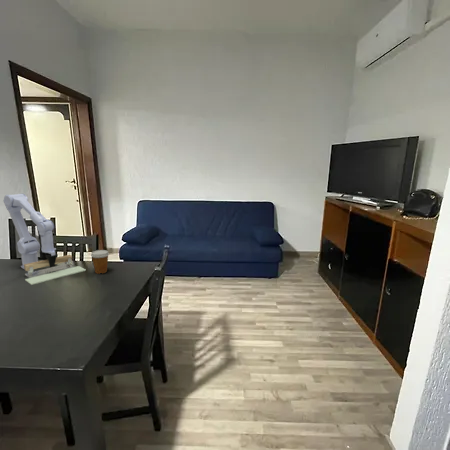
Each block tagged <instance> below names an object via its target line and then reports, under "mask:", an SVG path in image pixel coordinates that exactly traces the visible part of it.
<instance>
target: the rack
mask: <svg viewBox="0 0 450 450" xmlns="http://www.w3.org/2000/svg"><path fill="white" fill-rule="evenodd" d="M71 263H72V261H71V258H68V262H65V264H64V263H63V264H61V265H55V266H53V267H48V268H44V269H43V268H41V269H38V270H35V271H34V269H33V267H29V271H27V272H26V273H24V275H25V276H26V277H27V278H33V277H37V276H41V275H45V274H49V273H53V272H57V271H61V270H65V269H69V268H73V267H74V265H72V264H71Z"/></svg>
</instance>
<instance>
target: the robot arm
mask: <svg viewBox="0 0 450 450" xmlns="http://www.w3.org/2000/svg"><path fill="white" fill-rule="evenodd" d="M2 202H3V203H4V206H5V209H6V210H7V211H8V213H9V216H10V217H11V220H12V223H13V225H14V227H15V230H16V232H17V234H18V235H17V236H18V237H19V239H18V241H17V243H16V245H17V251H18V253H19V254H20V255H21V258H20V259H21V264H22V265H20V267H21V268H22V269H23V270H24V264H28V263H33V262H38V261H39V258H38V252H39V250H40V249H41V251H40V252H39V254H40V256H41V258H42V261H43V260H47V259H48V261H49V265H50V266H49V268H51V267H55V266H56V264H55V261H56V258H57V257H59V254H57V253H56V250H57V248H56V247H54V236H53V230H54V229H55V224H54V223H53V221H52V220H50V219H47V218H46V216H44V215H43V214H42V213H41V212H40V211H36V210H35V208H34V207H33V206H32V204H31V203H30V202H29V197H28V196H27V195H26V194H25V193H16V194H15V193H14V194H13V193H12V194H5V195H4V197H3V201H2ZM22 210H24V211H25V212H26V213H27V214H28V215H30V216H29V219H30V220H31V221H32V222H33V223H34V224H35V225H36V228H37V231H38V233H39V236H40V242H39V241H38V240H37V238H36V237H34V236H32V235H31V234H30V232H29V229H28V226H27V224H26V221H25V219H24V217H23V214H22V212H21V211H22ZM40 243H41V244H40Z"/></svg>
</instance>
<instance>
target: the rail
mask: <svg viewBox="0 0 450 450" xmlns="http://www.w3.org/2000/svg"><path fill="white" fill-rule="evenodd" d="M68 258H71V262H72V261H73V256H72V255H71V254H66V255H63V256H57V258H56V261H55V265H59V264H64V263H66V262H68ZM29 267H33V270H37V269H40V268H41V269H43V268H45V267H50V265H49V261H48V259H47V260H43V259H42V260H38V262H33V263H28V264H24V269H23V270H24V271H25V272H28V271H29Z"/></svg>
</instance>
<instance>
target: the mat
mask: <svg viewBox="0 0 450 450" xmlns="http://www.w3.org/2000/svg"><path fill="white" fill-rule="evenodd" d="M86 271H87V270H86V268H83V267H82V266H80V265H77V266H73V268H69V269H65V270H61V271H57V272H53V273H49V274H45V275H41V276H37V277H33V278H29V277H27V278H25V279H24V280H25V282H27V283H28V284H30V285H31V286H32V285H38V284H40V283H44V282H48V281H52V280H55V279H59V278H64V277H68V276H71V275H74V274H78V273H82V272H86Z"/></svg>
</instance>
